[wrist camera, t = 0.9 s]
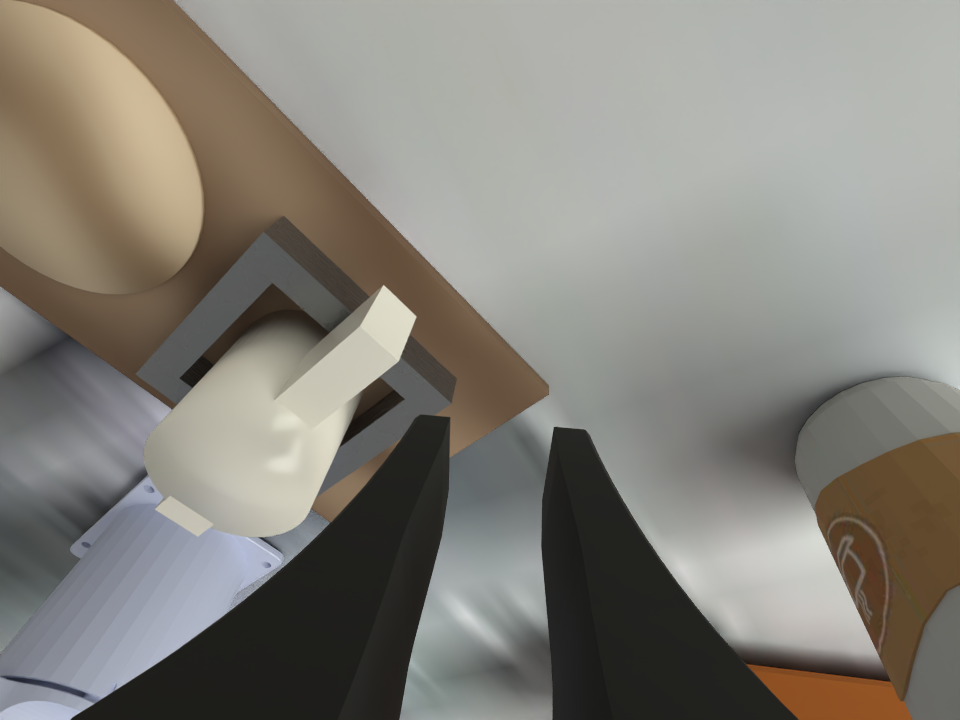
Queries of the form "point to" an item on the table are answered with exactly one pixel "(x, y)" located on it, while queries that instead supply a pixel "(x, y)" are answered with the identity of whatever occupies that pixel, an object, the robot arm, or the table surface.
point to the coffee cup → (895, 525)
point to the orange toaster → (832, 695)
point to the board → (247, 214)
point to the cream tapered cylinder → (271, 419)
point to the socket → (329, 302)
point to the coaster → (90, 159)
